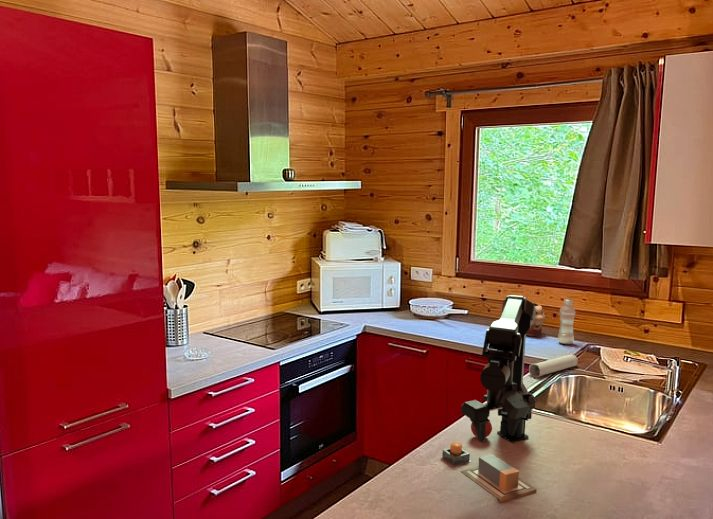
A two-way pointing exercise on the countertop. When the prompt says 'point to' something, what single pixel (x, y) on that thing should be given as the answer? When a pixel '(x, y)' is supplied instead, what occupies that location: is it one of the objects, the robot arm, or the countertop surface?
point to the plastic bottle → (566, 322)
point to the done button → (456, 448)
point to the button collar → (455, 457)
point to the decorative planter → (537, 322)
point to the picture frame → (496, 490)
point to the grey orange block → (498, 472)
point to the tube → (552, 365)
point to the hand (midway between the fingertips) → (496, 438)
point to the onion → (487, 432)
